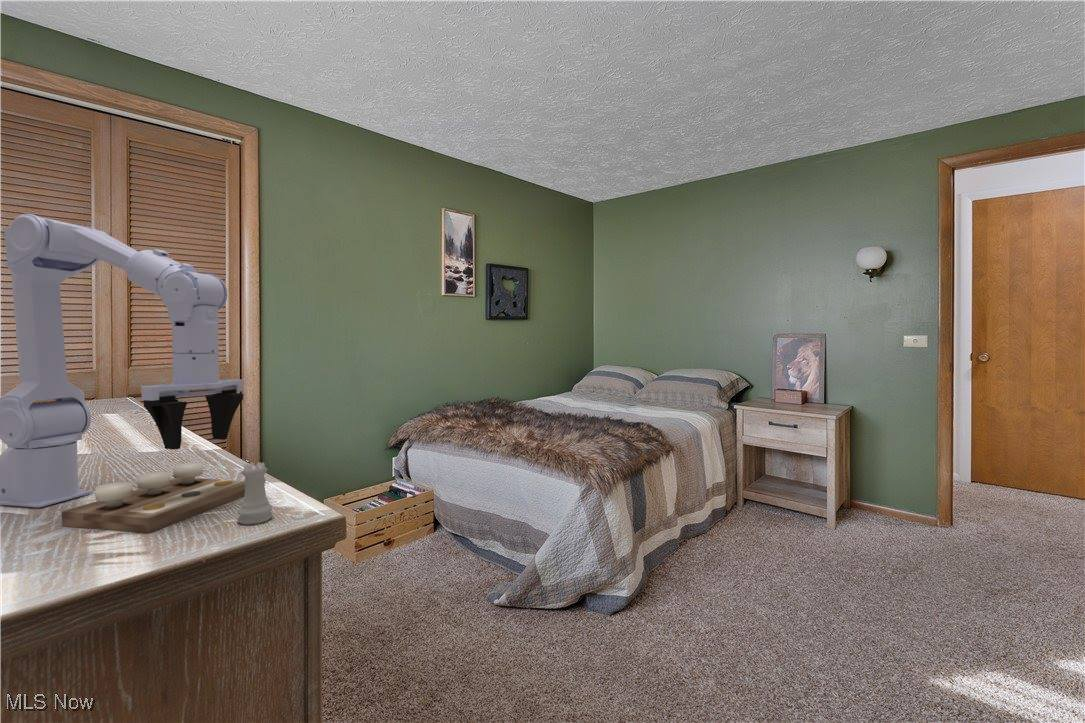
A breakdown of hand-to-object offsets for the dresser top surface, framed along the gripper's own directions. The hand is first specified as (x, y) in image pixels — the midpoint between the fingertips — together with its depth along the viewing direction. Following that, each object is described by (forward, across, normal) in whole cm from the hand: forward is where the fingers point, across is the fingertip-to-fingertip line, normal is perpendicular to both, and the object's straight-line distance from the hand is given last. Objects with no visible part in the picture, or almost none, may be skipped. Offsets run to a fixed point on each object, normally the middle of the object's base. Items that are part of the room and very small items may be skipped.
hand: (197, 443), depth 76 cm
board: (+10, -1, +5) cm, 11 cm away
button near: (+8, -7, +7) cm, 13 cm away
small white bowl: (+8, +5, +8) cm, 12 cm away
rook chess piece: (+10, -1, -12) cm, 16 cm away
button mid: (+8, -1, +7) cm, 11 cm away
